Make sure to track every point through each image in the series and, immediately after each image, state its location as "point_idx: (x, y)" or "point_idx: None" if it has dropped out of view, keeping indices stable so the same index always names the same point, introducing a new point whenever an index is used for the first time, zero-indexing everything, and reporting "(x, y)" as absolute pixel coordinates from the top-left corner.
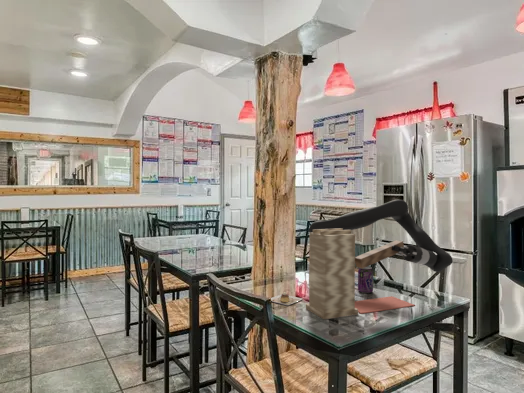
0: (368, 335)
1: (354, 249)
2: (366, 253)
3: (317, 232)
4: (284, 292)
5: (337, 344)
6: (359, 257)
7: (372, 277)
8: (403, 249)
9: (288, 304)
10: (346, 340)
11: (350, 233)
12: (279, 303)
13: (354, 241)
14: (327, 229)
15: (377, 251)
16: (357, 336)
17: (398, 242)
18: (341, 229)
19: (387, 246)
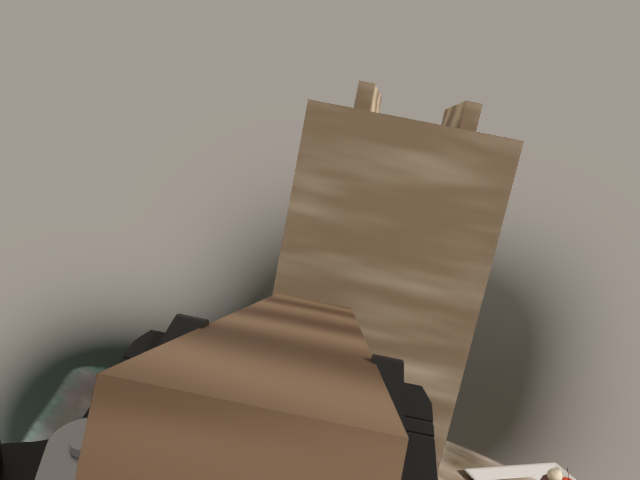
0: (26, 440)
1: (289, 204)
2: (332, 312)
3: (443, 124)
4: (553, 468)
5: (85, 369)
6: (312, 301)
7: None
8: (5, 454)
9: (472, 474)
10: (77, 390)
11: (354, 107)
12: (504, 471)
13: (299, 150)
14: (452, 108)
15: (268, 307)
16: (60, 419)
17: (194, 362)
18: (463, 108)
19: (270, 330)
